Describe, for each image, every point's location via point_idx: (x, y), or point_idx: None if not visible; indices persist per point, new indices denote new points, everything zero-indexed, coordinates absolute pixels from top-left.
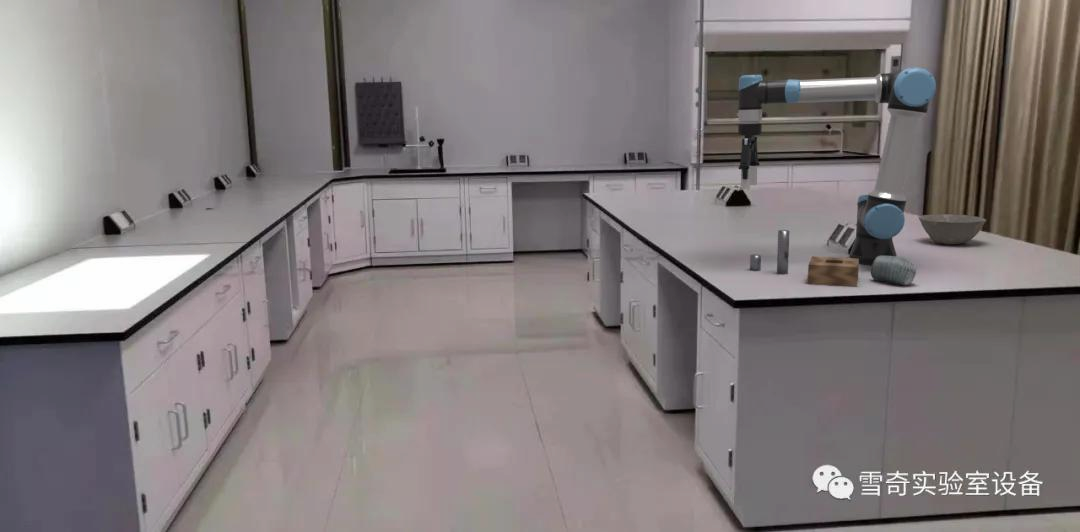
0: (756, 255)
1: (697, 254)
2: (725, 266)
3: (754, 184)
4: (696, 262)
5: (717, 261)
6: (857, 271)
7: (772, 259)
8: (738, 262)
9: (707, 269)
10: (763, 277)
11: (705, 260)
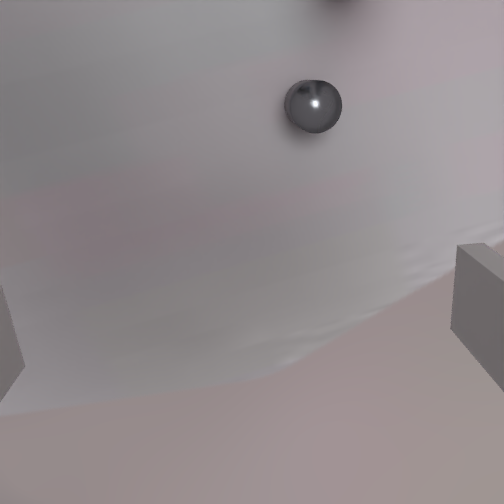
0: (321, 101)
1: (87, 389)
2: (277, 232)
3: (4, 309)
4: (241, 346)
5: (191, 287)
6: None
7: (40, 91)
8: (176, 209)
9: (357, 274)
10: (449, 30)
11: (190, 330)
